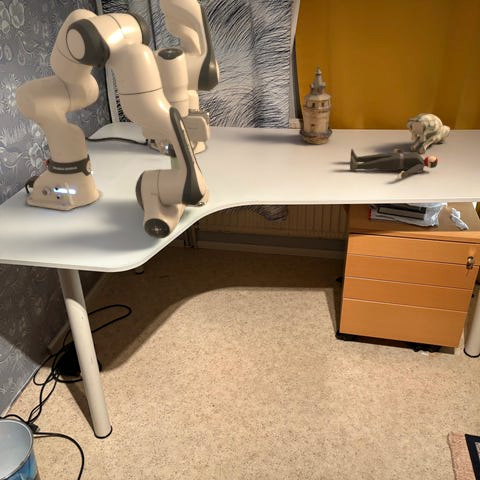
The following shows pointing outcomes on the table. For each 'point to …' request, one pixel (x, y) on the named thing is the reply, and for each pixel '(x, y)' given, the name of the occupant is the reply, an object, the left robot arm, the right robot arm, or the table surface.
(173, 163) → the pale green tall cylinder
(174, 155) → the lid
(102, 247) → the table surface
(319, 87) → the miniature building
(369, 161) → the toy
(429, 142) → the figurine
